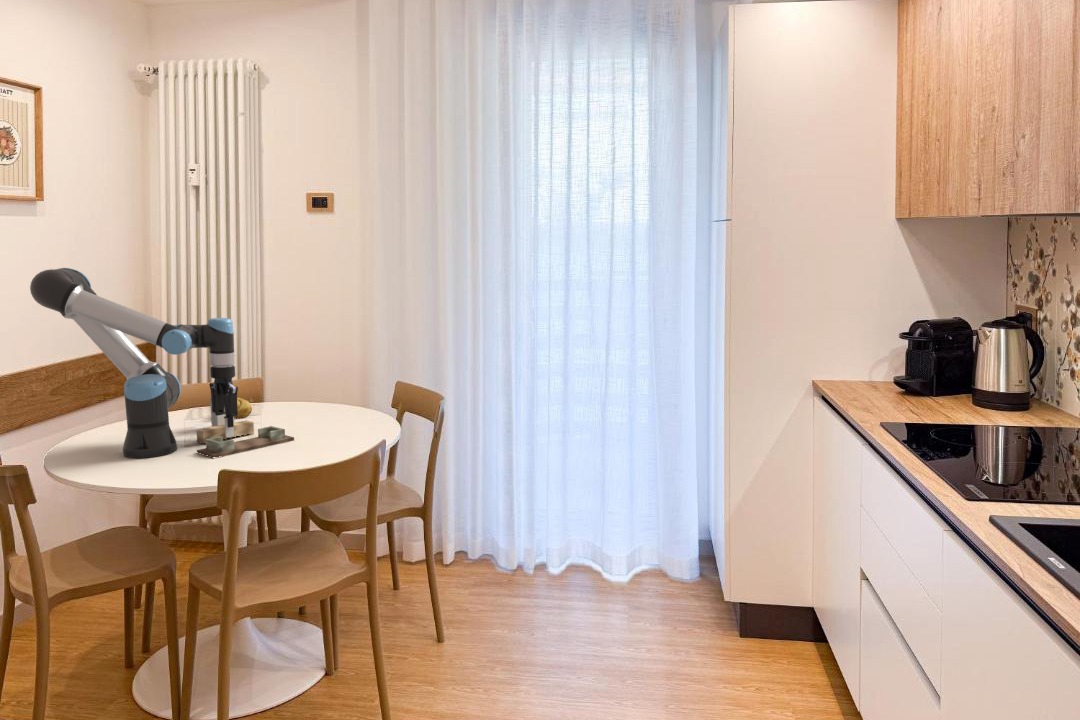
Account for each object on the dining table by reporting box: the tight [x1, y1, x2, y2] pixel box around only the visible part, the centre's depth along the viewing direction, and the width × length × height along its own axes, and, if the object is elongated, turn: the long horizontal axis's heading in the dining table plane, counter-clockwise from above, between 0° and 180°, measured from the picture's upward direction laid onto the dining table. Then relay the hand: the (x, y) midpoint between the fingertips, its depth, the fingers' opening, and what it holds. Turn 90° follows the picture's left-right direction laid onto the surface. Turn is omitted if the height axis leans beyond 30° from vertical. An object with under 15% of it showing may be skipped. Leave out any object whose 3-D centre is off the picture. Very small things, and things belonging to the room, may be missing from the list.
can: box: [209, 394, 235, 427], centre depth 283 cm, size 8×8×12 cm
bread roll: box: [234, 396, 253, 419], centre depth 302 cm, size 13×10×8 cm
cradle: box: [196, 425, 295, 458], centre depth 257 cm, size 28×10×4 cm, turn 141°
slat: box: [196, 419, 255, 444], centre depth 267 cm, size 18×4×4 cm, turn 141°
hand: (225, 435), depth 267 cm, fingers closed on slat, 4 cm apart
